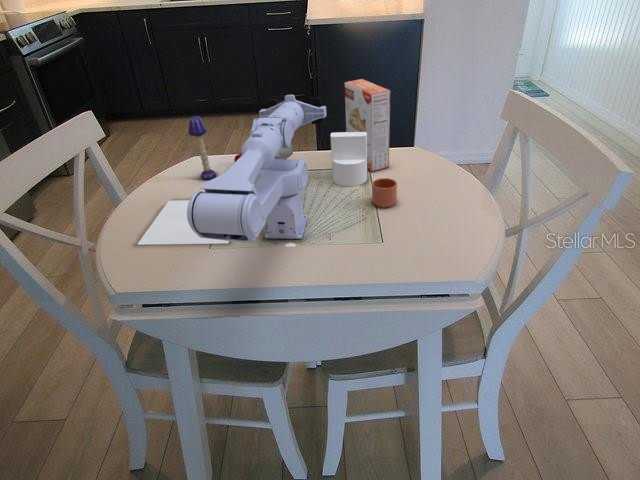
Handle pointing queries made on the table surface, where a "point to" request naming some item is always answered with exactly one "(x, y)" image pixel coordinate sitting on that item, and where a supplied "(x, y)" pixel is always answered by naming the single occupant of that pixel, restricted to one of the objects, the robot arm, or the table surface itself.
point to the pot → (384, 192)
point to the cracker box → (369, 119)
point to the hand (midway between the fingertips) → (302, 104)
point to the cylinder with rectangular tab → (349, 158)
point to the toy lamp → (201, 145)
